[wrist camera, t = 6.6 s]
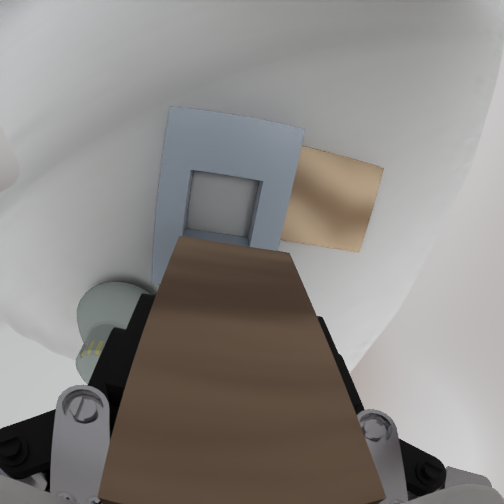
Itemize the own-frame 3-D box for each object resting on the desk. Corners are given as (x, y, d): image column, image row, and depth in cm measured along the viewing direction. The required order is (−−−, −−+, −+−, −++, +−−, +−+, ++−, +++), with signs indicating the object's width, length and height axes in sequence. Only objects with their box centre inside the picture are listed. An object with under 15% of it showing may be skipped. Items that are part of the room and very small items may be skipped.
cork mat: (295, 144, 26) (296, 144, 25) (380, 167, 27) (383, 168, 26) (274, 236, 29) (275, 239, 29) (356, 250, 30) (359, 252, 30)
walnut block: (179, 236, 12) (97, 497, 3) (289, 253, 12) (386, 498, 3) (171, 325, 14) (135, 540, 4) (265, 337, 14) (301, 546, 5)
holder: (175, 107, 24) (170, 106, 21) (298, 128, 25) (305, 128, 23) (156, 271, 30) (151, 283, 27) (262, 286, 31) (265, 299, 29)
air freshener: (174, 348, 34) (163, 414, 25) (113, 349, 34) (90, 409, 25) (153, 267, 30) (125, 327, 20) (84, 273, 29) (43, 327, 20)
